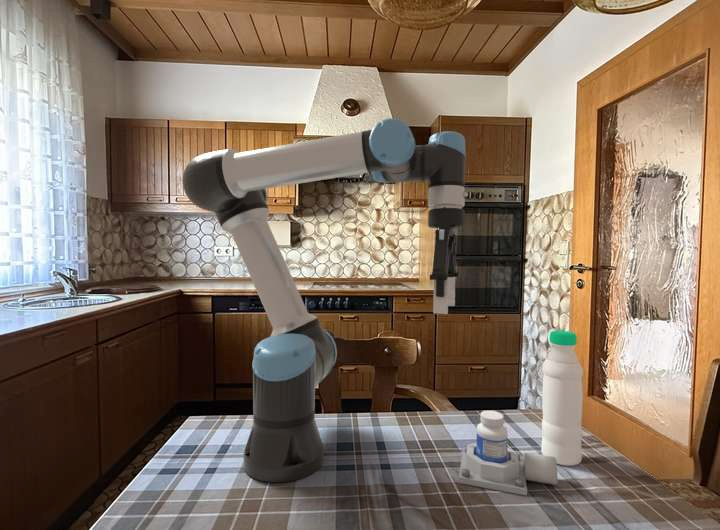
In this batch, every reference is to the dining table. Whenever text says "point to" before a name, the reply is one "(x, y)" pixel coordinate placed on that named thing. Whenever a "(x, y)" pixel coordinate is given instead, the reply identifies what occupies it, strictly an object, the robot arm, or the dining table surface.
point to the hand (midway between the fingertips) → (444, 309)
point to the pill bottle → (492, 438)
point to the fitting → (506, 471)
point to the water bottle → (562, 401)
